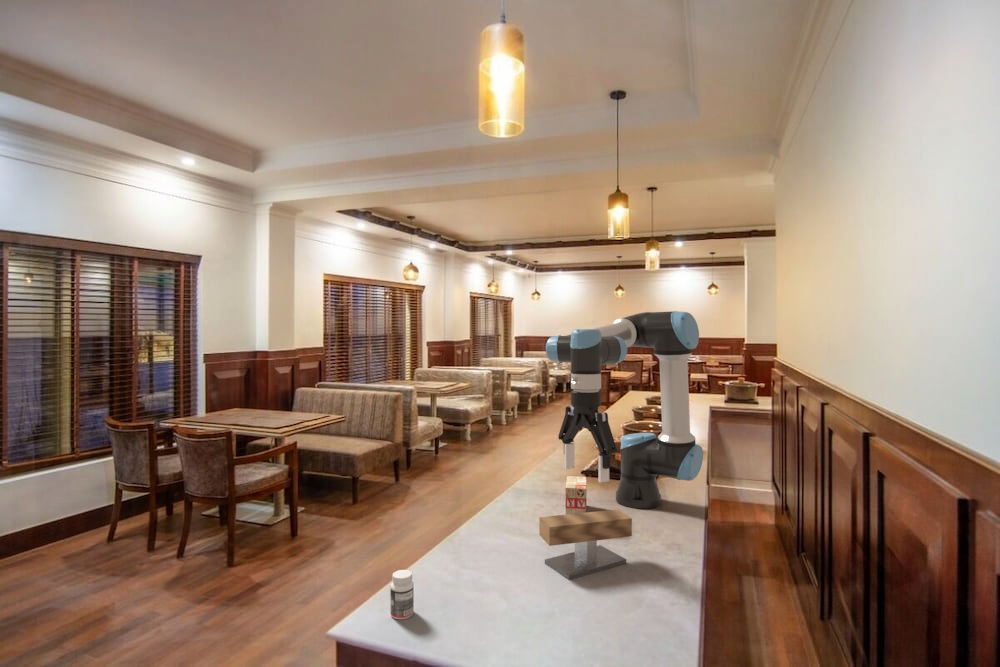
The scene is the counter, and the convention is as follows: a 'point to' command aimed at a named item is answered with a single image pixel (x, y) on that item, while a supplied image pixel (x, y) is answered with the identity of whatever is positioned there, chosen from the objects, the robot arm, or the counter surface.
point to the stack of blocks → (576, 495)
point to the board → (585, 527)
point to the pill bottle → (402, 594)
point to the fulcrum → (585, 560)
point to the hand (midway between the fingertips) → (585, 474)
